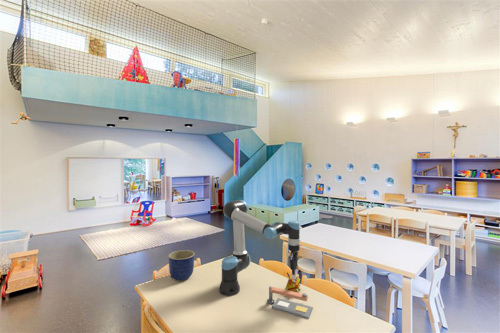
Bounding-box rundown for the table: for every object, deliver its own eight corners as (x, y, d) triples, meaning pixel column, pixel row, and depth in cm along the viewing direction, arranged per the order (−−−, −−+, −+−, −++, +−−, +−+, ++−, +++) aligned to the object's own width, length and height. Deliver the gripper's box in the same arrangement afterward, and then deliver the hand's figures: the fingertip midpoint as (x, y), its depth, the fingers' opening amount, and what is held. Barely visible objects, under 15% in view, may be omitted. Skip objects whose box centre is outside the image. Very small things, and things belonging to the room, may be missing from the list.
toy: (300, 294, 174) (290, 274, 177) (288, 298, 177) (278, 278, 180) (304, 286, 186) (294, 267, 189) (293, 290, 190) (284, 271, 193)
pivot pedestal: (265, 303, 166) (265, 301, 166) (268, 299, 171) (268, 298, 171) (272, 305, 164) (272, 303, 164) (275, 301, 168) (275, 299, 168)
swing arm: (267, 301, 166) (268, 287, 166) (270, 298, 170) (270, 284, 169) (306, 311, 154) (306, 296, 154) (307, 308, 158) (307, 293, 158)
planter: (162, 279, 199) (162, 255, 199) (182, 270, 217) (182, 248, 216) (180, 286, 188) (180, 261, 188) (199, 275, 206) (199, 253, 206)
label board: (271, 308, 160) (271, 306, 160) (277, 299, 171) (277, 297, 171) (308, 318, 150) (308, 316, 150) (312, 308, 161) (312, 306, 161)
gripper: (296, 247, 162) (296, 283, 162) (301, 242, 173) (301, 275, 173) (285, 246, 165) (285, 281, 165) (291, 240, 177) (291, 273, 177)
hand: (293, 278), depth 169 cm, fingers closed
